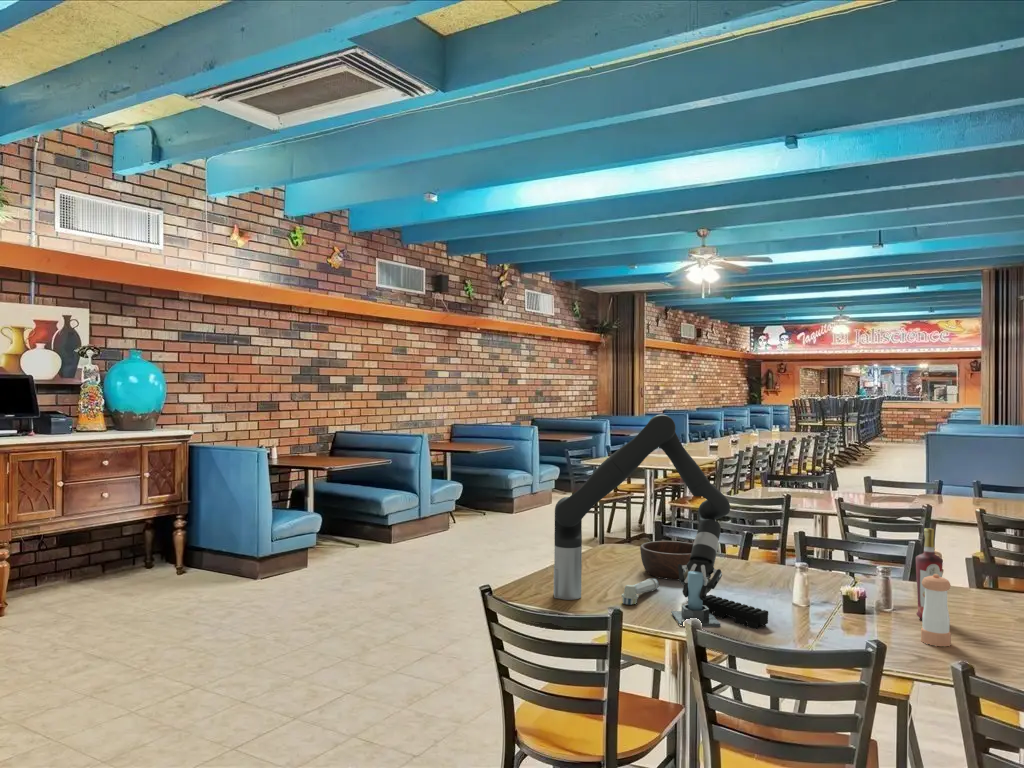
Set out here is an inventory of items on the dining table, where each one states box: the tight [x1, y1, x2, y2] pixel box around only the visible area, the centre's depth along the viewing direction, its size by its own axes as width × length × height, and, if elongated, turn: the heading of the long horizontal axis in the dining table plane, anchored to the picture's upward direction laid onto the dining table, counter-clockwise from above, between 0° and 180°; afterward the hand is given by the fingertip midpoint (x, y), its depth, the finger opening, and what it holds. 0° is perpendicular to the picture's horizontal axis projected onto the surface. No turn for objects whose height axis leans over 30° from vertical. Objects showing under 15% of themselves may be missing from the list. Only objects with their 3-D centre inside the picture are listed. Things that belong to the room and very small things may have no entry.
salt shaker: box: [920, 574, 952, 647], centre depth 205 cm, size 7×7×19 cm
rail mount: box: [703, 594, 769, 630], centre depth 226 cm, size 21×6×5 cm, turn 36°
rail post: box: [687, 571, 703, 610], centre depth 224 cm, size 4×4×12 cm
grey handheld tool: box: [621, 578, 660, 606], centre depth 249 cm, size 5×7×25 cm
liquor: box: [915, 527, 944, 620], centre depth 226 cm, size 7×7×28 cm
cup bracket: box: [670, 603, 721, 628], centre depth 223 cm, size 12×12×4 cm
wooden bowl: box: [639, 540, 694, 580], centre depth 281 cm, size 25×25×10 cm
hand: (693, 597), depth 222 cm, fingers closed on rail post, 4 cm apart
